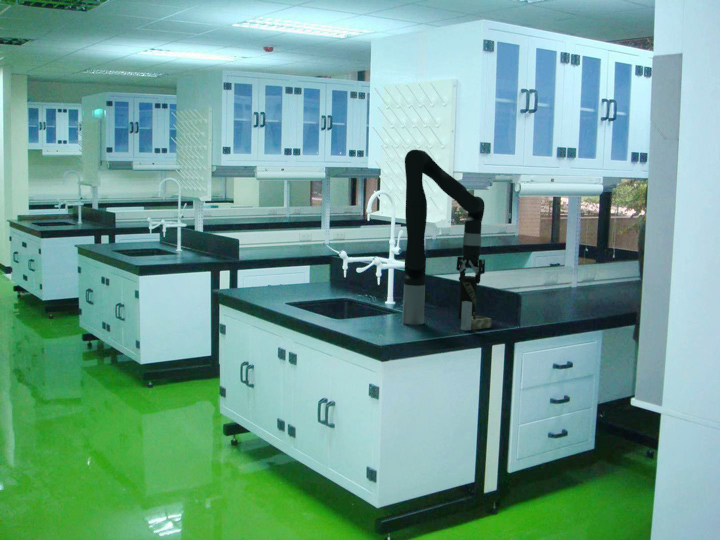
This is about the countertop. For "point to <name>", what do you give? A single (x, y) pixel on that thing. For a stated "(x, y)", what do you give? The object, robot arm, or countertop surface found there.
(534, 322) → the countertop surface
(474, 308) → the container
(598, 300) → the countertop surface
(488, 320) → the slot block
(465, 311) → the grey rectangular bar
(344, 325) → the countertop surface
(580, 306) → the countertop surface
